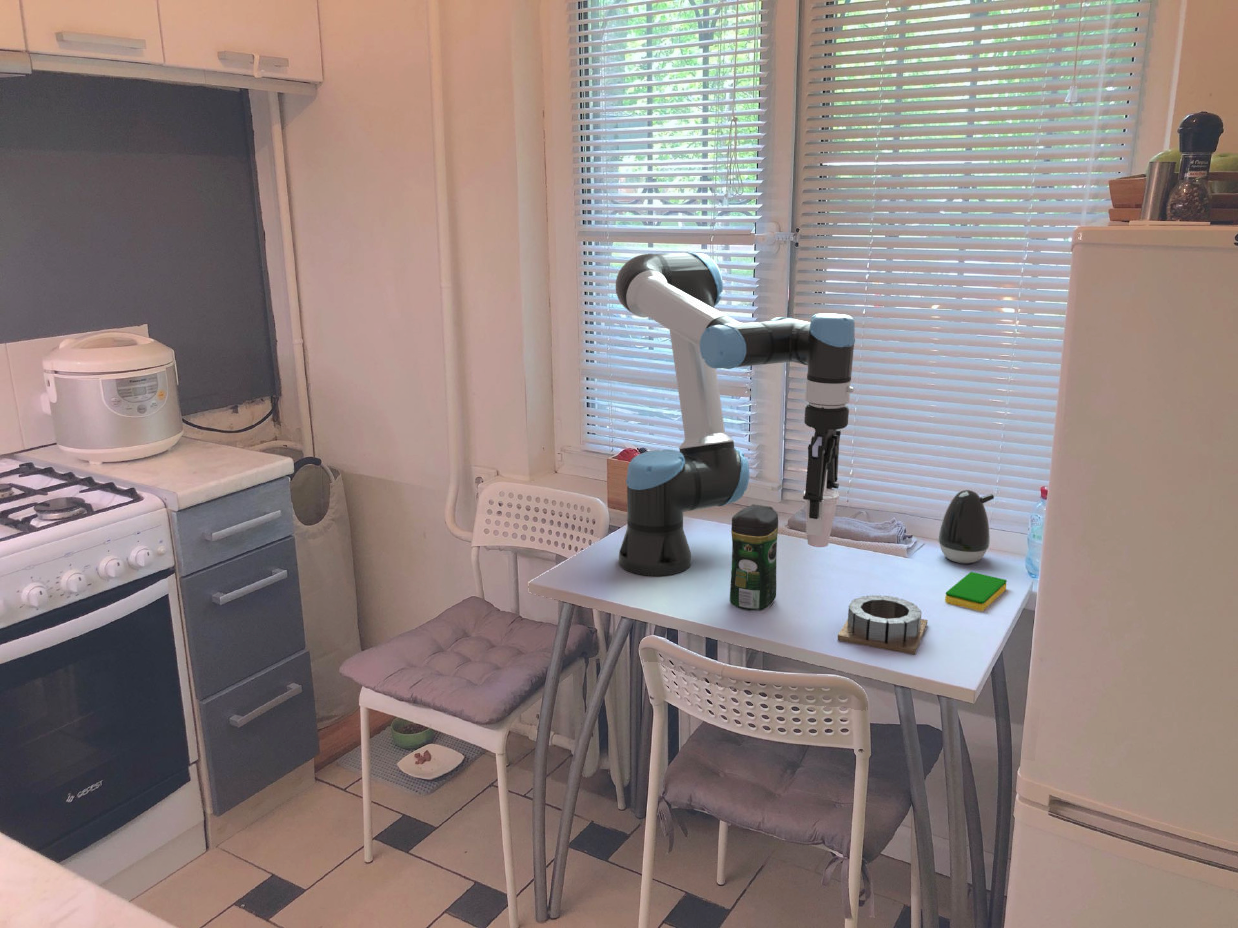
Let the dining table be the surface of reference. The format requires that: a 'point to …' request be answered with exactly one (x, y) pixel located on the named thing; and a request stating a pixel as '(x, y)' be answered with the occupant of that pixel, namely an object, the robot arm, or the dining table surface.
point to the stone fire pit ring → (884, 624)
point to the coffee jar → (754, 557)
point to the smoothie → (824, 517)
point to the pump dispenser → (965, 528)
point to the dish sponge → (975, 591)
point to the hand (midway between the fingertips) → (818, 528)
